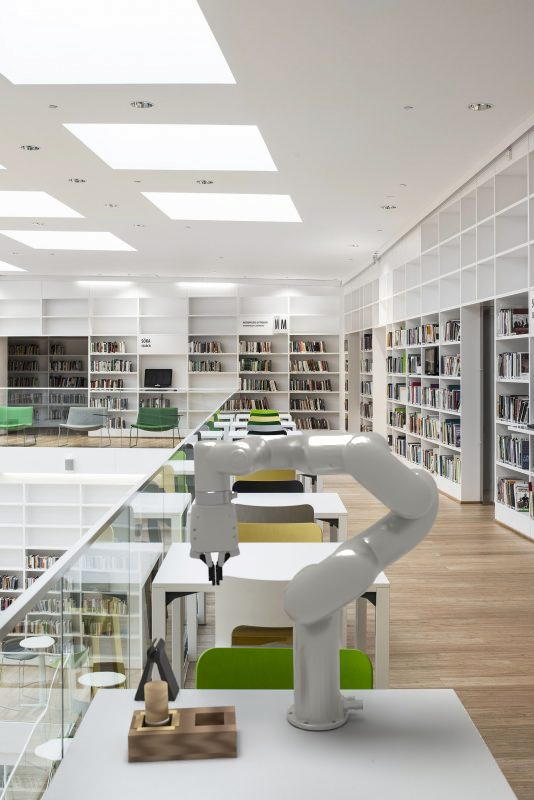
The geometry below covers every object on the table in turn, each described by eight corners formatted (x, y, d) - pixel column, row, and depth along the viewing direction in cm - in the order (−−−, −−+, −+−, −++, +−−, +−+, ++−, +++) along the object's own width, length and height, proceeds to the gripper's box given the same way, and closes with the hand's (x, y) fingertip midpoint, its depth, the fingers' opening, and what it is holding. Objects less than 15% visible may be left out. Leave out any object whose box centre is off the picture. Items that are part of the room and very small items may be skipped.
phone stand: (179, 690, 178) (178, 637, 177) (174, 701, 172) (173, 647, 171) (140, 689, 178) (139, 637, 178) (134, 700, 172) (132, 646, 172)
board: (235, 730, 157) (234, 704, 157) (236, 757, 146) (236, 729, 146) (134, 735, 156) (134, 709, 156) (128, 762, 145) (127, 734, 145)
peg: (170, 735, 153) (168, 679, 153) (169, 746, 149) (167, 688, 148) (147, 737, 153) (144, 681, 152) (145, 748, 148) (143, 690, 148)
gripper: (246, 494, 171) (249, 577, 172) (177, 497, 169) (180, 581, 170) (249, 499, 163) (252, 586, 164) (177, 502, 162) (180, 590, 163)
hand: (215, 583), depth 167 cm, fingers closed
